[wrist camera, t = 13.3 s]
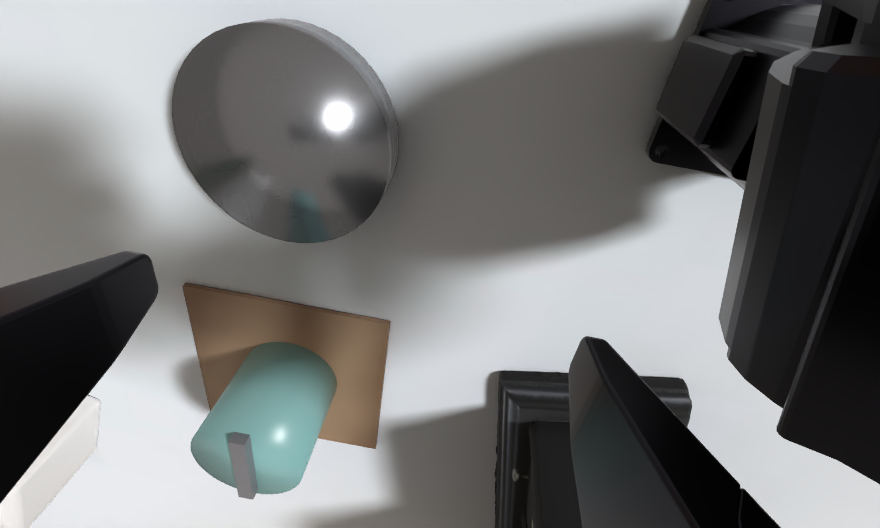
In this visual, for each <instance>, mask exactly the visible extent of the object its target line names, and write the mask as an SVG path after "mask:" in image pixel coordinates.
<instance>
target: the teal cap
mask: <svg viewBox="0 0 880 528" xmlns="http://www.w3.org/2000/svg"><path fill="white" fill-rule="evenodd" d="M336 389H337V380H336V376H335V374H334V372H333V370H332V368H331V367H330V366H329V364H328V363H327V362H326V361H325V360H324V359H323V358H321V357H320V356H319V355H317V354H316V353H314V352H313V351H311V350H309V349H307V348H305V347H302V346H299V345H296V344H292V343H287V342H268V343H264V344H261V345H259V346H257V347H255V348H254V349H252V351H251V352H250V353H249V354H248V356H247V357H246V359H245V360H244V362H243V363H242V365H241V366H240V368H239V369H238V371H237V372H236V374H235V375H234V377H233V378H232V380H231V381H230V383H229V384H228V386H227V387H226V389H225V390H224V392H223V393H222V395H221V396H220V398H219V399H218V401H217V402H216V404H215V405H214V407H213V408H212V410H211V411H210V413H209V414H208V416H207V417H206V419H205V420H204V422H203V423H202V425H201V426H200V428H199V429H198V431H197V432H196V434H195V435H194V437H193V438H192V441H191V452H192V454H193V457H194V458H195V460H196V461H197V463H198V464H199V465H200V466H201V467H202V468H203V469H204V470H205V471H206V472H207V473H209V474H210V475H211V476H213V477H214V478H216V479H218V480H219V481H221V482H223V483H225V484H227V485H230V486H232V487H235V488H237V490H238V495H239V497H243V498H248V499H254V496H255V494H256V493H260V494H278V493H283V492H287V491H289V490H291V489H293V488H295V487H296V486H297V485H298V484H299V483H300V481H301V479H302V477H303V474H304V471H305V469H306V466H307V464H308V461H309V459H310V456H311V454H312V451H313V448H314V446H315V443H316V441H317V438H318V436H319V433H320V431H321V428H322V425H323V423H324V420H325V418H326V415H327V413H328V410H329V408H330V405H331V403H332V400H333V397H334V395H335V392H336Z"/></svg>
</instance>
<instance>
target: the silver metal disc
mask: <svg viewBox="0 0 880 528" xmlns="http://www.w3.org/2000/svg"><path fill="white" fill-rule="evenodd" d="M172 116H173V124H174V130H175V134H176V138H177V142H178V145H179V147H180V150H181V153H182V155H183V157H184V159H185V161H186V163H187V165H188V167H189V169H190V171H191V173H192V174H193V176H194V177H195V179H196V180H197V182H198V183H199V184H200V186H201V187H202V188H203V190H204V191H205V192H206V193H207V194H208V196H209V197H210V198H211V199H212V200H213V201H214V202H215V203H216V204H217V205H218V206H219V207H221V208H222V209H223V210H224V211H225V212H226V213H228V214H229V215H230V216H232V217H233V218H234V219H236V220H237V221H239V222H240V223H242V224H244V225H245V226H247V227H249V228H251V229H253V230H255V231H257V232H259V233H261V234H264V235H267V236H269V237H272V238H276V239H280V240H284V241H289V242H297V243H315V242H323V241H328V240H332V239H335V238H338V237H340V236H343V235H345V234H347V233H349V232H350V231H352V230H354V229H355V228H357V227H358V226H359V225H361V224H362V223H363V222H364V221H365V220H366V219H367V218H368V217H369V216H370V215H371V214H372V212H373V211H374V209H375V208H376V206H377V205H378V203H379V201H380V200H381V198H382V196H383V194H384V192H385V190H386V188H387V186H388V184H389V182H390V180H391V178H392V176H393V173H394V170H395V167H396V164H397V158H398V151H399V135H398V125H397V120H396V116H395V112H394V109H393V106H392V103H391V100H390V97H389V95H388V93H387V91H386V89H385V87H384V85H383V83H382V82H381V80H380V79H379V77H378V76H377V74H376V73H375V71H374V70H373V69H372V67H371V66H370V65H369V64H368V63H367V61H366V60H365V59H364V58H363V57H362V56H361V55H360V54H359V53H358V52H357V51H356V50H355V49H354V48H353V47H351V46H350V45H349V44H347V43H346V42H345V41H343V40H342V39H341V38H339V37H337V36H336V35H334V34H332V33H330V32H329V31H327V30H325V29H322V28H320V27H317V26H315V25H313V24H309V23H306V22H302V21H298V20H290V19H266V20H260V21H254V22H249V23H243V24H238V25H233V26H229V27H226V28H224V29H221V30H219V31H216V32H214V33H213V34H211V35H209V36H208V37H206V38H205V39H203V40H202V41H201V42H200V43H199V44H198V45H197V46H196V47H194V48H193V49H192V51H191V52H190V53H189V55H188V56H187V58H186V59H185V60H184V62H183V64H182V66H181V68H180V70H179V72H178V75H177V79H176V82H175V85H174V91H173V98H172Z"/></svg>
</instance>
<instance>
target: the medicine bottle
mask: <svg viewBox="0 0 880 528" xmlns="http://www.w3.org/2000/svg"><path fill="white" fill-rule="evenodd" d="M100 406H101V403H100V400H99V399H96V398H94V397H91V396H88V395H87V396H86V398H85V399H84V400H83V401H82V403H81V404H80V405H79V406H78V408H77V409H76V410H75V411H74V413H73V414H72V415H71V416H70V418H69V419H68V420H67V421H66V423H65V424H64V425H63V426H62V428H61V429H60V430H59V431H58V433H57V434H56V435H55V436H54V438H53V439H52V440H51V441H50V442H49V444H48V445H47V446H46V447H45V449H44V450H43V451H42V452H41V454H40V455H39V456H38V457H37V459H36V460H35V461H34V462H33V464H32V465H31V466H30V467H29V469H28V470H27V471H26V472H25V474H24V475H23V476H22V477H21V479H20V480H19V481H18V482H17V484H16V485H15V486H14V487H13V489H12V490H11V491H10V492H9V494H8V495H7V496H6V497H5V499H4V500H3V501H2V502H1V504H0V528H29V527H30V526H31V525H32V524H33V522H34V521H35V520H36V519H37V518H38V517H39V515H40V514H41V513H42V512H43V511H44V510H45V508H46V507H47V506H48V505H49V504H50V503H51V501H52V500H53V499H54V498H55V497H56V496H57V494H58V493H59V492H60V491H61V490H62V488H63V487H64V486H65V485H66V484H67V483H68V481H69V480H70V479H71V478H72V477H73V476H74V474H75V473H76V472H77V471H78V470H79V469H80V467H81V466H82V465H83V464H84V463H85V462H86V460H87V459H88V458H89V457H90V456H91V455H92V453H93V452H94V451H95V450H96V448H97V443H98V431H99V418H100Z"/></svg>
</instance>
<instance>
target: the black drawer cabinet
mask: <svg viewBox="0 0 880 528" xmlns="http://www.w3.org/2000/svg"><path fill="white" fill-rule="evenodd" d="M640 378H641V379H642V380H643V381H644V382H645V383H646V384H647V385H648V386H649V387H650V389H651V390H652V391H653V392H654V393H655V394H656V395H657V396H658V397H659V398H660V399H661V400H662V401H663V402H664V404H665V405H666V406H667V407H668V408H669V409H670V410H671V411H672V412H673V413H674V414H675V415H676V416H677V417H678V419H679V420H680V421H681V422H682V423H683V424H684V425H685V426H686V427H687V426H688V422H689V419H690V413H691V409H692V401H691V399H690V397H689V392H688V388H687V385H686V383H685V382H684V380H683V379H670V378H652V377H640ZM497 429H498V434H497V447H496V453H497V462H496V470H495V478H496V481H495V504H496V506H495V515H496V520H495V528H583V527H582V520H581V513H580V506H579V499H578V492H577V485H576V478H575V472H574V465H573V458H572V450H571V437H570V404H569V374H565V373H538V372H514V371H502V372H500V375H499V391H498V428H497Z"/></svg>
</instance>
